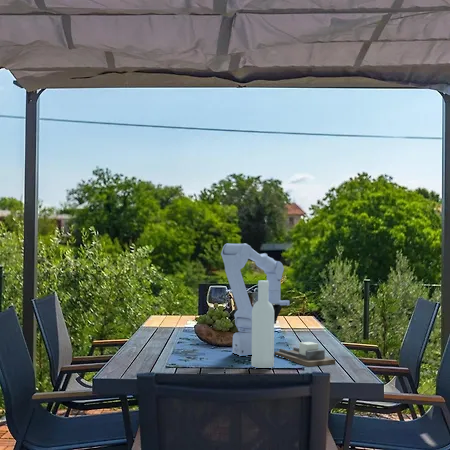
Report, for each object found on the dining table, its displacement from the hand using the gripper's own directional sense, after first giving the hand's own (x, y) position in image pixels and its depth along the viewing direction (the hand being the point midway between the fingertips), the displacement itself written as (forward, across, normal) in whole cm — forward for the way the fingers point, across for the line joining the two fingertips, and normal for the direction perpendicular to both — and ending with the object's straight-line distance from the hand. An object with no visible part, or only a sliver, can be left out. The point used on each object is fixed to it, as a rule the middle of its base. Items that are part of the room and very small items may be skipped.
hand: (273, 323), depth 241 cm
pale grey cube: (+9, +1, +26) cm, 28 cm away
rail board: (+10, +1, +23) cm, 25 cm away
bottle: (+11, +22, +28) cm, 37 cm away
